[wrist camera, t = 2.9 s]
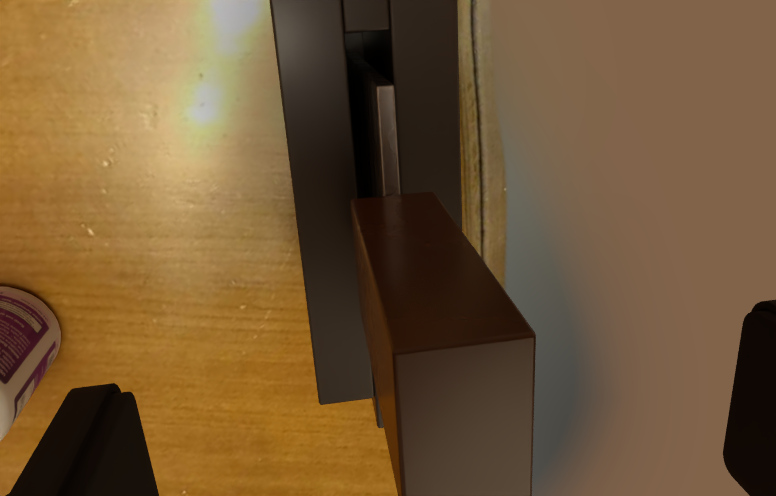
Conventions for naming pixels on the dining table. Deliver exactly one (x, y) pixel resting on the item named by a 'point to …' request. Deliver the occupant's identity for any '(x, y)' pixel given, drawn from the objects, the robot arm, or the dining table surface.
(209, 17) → the dining table surface
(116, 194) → the dining table surface
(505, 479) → the kitchen knife
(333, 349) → the knife block
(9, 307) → the pill bottle
